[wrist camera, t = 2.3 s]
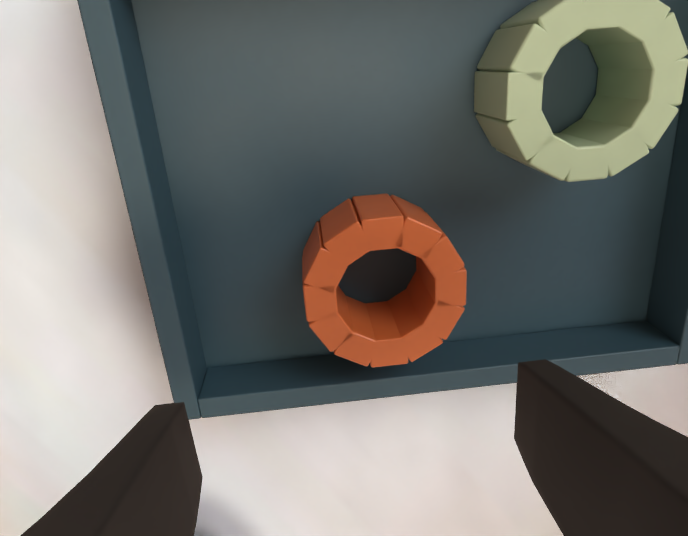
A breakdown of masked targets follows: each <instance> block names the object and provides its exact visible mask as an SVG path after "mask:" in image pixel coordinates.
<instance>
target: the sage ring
mask: <svg viewBox="0 0 688 536" xmlns="http://www.w3.org/2000/svg"><path fill="white" fill-rule="evenodd" d="M669 11H670V7H668V6H667V5H665V4H664V3H662V2H661V1H659V0H538V1H536V2H532V3H531V4H529V5H528V6H526V7H525V8H524V9H522V10H521V11H519V12H518V13H517V14H515V15H514V16H512V17H511V18H510V19H508V20H507V21H505V22H504V23H503V24H501V26H500V29H499V30H496V31H495V33H494V35H493V37H492V39H491V40H490V42H489V44H488V46H487V48H486V50H485V52H484V54H483V56H482V58H481V59H480V61H479V63H478V65H477V68H478V69H479V70H480V71H476V72H475V86H474V112H476V113H478V114H476V118H477V120H478V122H479V124H480V126H481V127H482V129H483V131H484V133H485V135H486V137H487V138H488V140H489V142H490V144H491V146H493V147H495V148H496V150H497V151H499V152H501V153H503V154H505V155H506V156H508V157H510V158H512V159H514V160H516V161H518V162H520V163H522V164H524V165H526V166H529V167H531V168H533V169H535V170H537V171H540V172H542V173H544V174H546V175H549V176H551V177H553V178H555V179H558V180H560V181H563V180H565V181H567V182H574V181H585V180H596V179H605V178H607V176H608V175H609V176H614V175H616V174H617V173H619V172H620V171H622V170H623V169H625V168H627V167H628V166H630V165H631V164H633V163H634V162H636V161H637V160H639V159H641V158H642V157H644V156H645V155H647V154H648V153H649V150H648V148H649V149H653V148H654V147H655V146H656V144H657V143H658V141H659V140H660V138H661V137H662V135H663V134H664V132H665V131H666V129H667V128H668V126H669V125H670V123H671V122H672V120H673V119H674V117H675V116H676V114H677V113H678V108H677V107H675V106H678V105H680V104H681V103H682V97H683V91H684V85H685V79H686V73H687V66H688V59H687V58H683V57H684V56H686V55H687V54H688V50H687V47H686V44H685V41H684V39H683V36H682V33H681V31H680V28H679V25H678V22H677V20H676V17H675V14H674V13H673V12H670V13H669ZM575 38H576V39H578V40H580V41H581V42H583V43H585V44H586V45H588V46H589V48H590V51H591V53H592V55H593V58H594V60H595V62H596V64H597V67H598V78H597V88H596V95H595V97H594V98H593V100H592V102H591V103H590V105H589V107H588V108H587V110H586V112H585V113H584V115H583V117H582V118H581V119H580V120H578V121H577V122H575V123H574V124H572V125H571V126H569V127H568V128H566V129H565V130H563V131H562V132H560V133H553V132H552V130H551V128H550V126H549V124H548V122H547V120H546V118H545V116H544V114H543V112H542V110H541V109H542V94H543V79H544V76H545V74H546V72H547V70H548V69H549V67H550V65H551V63H552V62H553V60H554V58H555V56H556V55H557V53H558V51H559V49H560V48H562V47H563V46H564V45H566V44H567V43H569V42H570V41H572V40H573V39H575Z"/></svg>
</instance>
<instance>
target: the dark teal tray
mask: <svg viewBox="0 0 688 536" xmlns="http://www.w3.org/2000/svg"><path fill="white" fill-rule="evenodd" d="M77 1H78V5H79V9H80V13H81V18H82V22H83V26H84V30H85V34H86V38H87V43H88V47H89V51H90V55H91V59H92V63H93V68H94V72H95V76H96V80H97V84H98V88H99V93H100V97H101V101H102V105H103V109H104V113H105V117H106V122H107V126H108V130H109V134H110V138H111V142H112V147H113V151H114V155H115V159H116V163H117V167H118V172H119V176H120V180H121V184H122V188H123V192H124V197H125V201H126V205H127V209H128V213H129V217H130V222H131V226H132V230H133V234H134V238H135V242H136V246H137V251H138V255H139V259H140V263H141V267H142V271H143V276H144V280H145V284H146V288H147V292H148V296H149V301H150V305H151V309H152V313H153V317H154V321H155V326H156V330H157V334H158V338H159V342H160V346H161V351H162V355H163V359H164V363H165V367H166V371H167V375H168V380H169V384H170V388H171V392H172V396H173V400H174V403H179V402H184V404H185V408H186V412H187V416H188V420H189V419H198V418H201V417H202V418H207V417H216V416H225V415H234V414H243V413H252V412H261V411H269V410H278V409H287V408H296V407H305V406H314V405H323V404H331V403H340V402H349V401H358V400H367V399H376V398H385V397H393V396H402V395H411V394H420V393H429V392H438V391H447V390H455V389H464V388H473V387H482V386H491V385H500V384H509V383H517V374H518V362H526V361H535V360H543V359H546V360H548V361H550V362H552V363H554V364H556V365H558V366H560V367H561V368H563V369H565V370H567V371H568V372H570V373H572V374H574V375H575V376H579V375H588V374H597V373H606V372H615V371H624V370H633V369H641V368H650V367H659V366H668V365H675V364H686V363H688V66H687V73H686V79H685V85H684V91H683V97H682V103H681V104H680V105H678V106H675V107H677V108H678V113H677V114H676V116H675V117H674V119H673V120H672V122H671V123H670V125H669V126H668V128H667V129H666V131H665V132H664V134H663V135H662V137H661V138H660V140H659V141H658V143H657V144H656V146H655V147H654V148H653V149H649V148H648V150H649V153H648V154H647V155H645V156H644V157H642V158H641V159H639V160H637V161H636V162H634V163H633V164H631V165H630V166H628V167H627V168H625V169H623V170H622V171H620V172H619V173H617V174H616V175H614V176H609V175H608V176H607V178H605V179H596V180H585V181H574V182H567V181H565V180H563V181H560V180H558V179H555V178H553V177H551V176H549V175H546V174H544V173H542V172H540V171H537V170H535V169H533V168H531V167H529V166H526V165H524V164H522V163H520V162H518V161H516V160H514V159H512V158H510V157H508V156H506V155H505V154H503V153H501V152H499V151H497V150H496V148H495V147H493V146H491V144H490V142H489V140H488V138H487V137H486V135H485V133H484V131H483V129H482V127H481V126H480V124H479V122H478V120H477V118H476V114H478V113H476V112H474V86H475V72H476V71H480V70H479V69H478V68H477V65H478V63H479V61H480V59H481V58H482V56H483V54H484V52H485V50H486V48H487V46H488V44H489V42H490V40H491V39H492V37H493V35H494V33H495V31H496V30H499V29H500V26H501V24H503V23H504V22H505V21H507V20H508V19H510V18H511V17H512V16H514V15H515V14H517V13H518V12H519V11H521V10H522V9H524V8H525V7H526V6H528V5H529V4H531V3H532V2H536V1H538V0H77ZM659 1H661V2H662V3H664V4H665V5H667V6H668V7H670V11H669V13H670V12H673V13H674V14H675V17H676V20H677V22H678V25H679V28H680V31H681V33H682V36H683V39H684V41H685V44H686V47H687V50H688V0H659ZM683 58H687V59H688V54H687V55H686V56H684V57H683ZM597 78H598V67H597V64H596V62H595V60H594V58H593V55H592V53H591V51H590V48H589V46H588V45H586V44H585V43H583V42H581V41H580V40H578V39H576V38H575V39H573V40H572V41H570V42H569V43H567V44H566V45H564V46H563V47H562V48H560V49H559V51H558V53H557V55H556V56H555V58H554V60H553V62H552V63H551V65H550V67H549V69H548V70H547V72H546V74H545V76H544V79H543V94H542V109H541V110H542V112H543V114H544V116H545V118H546V120H547V122H548V124H549V126H550V128H551V130H552V132H553V133H560V132H562V131H563V130H565V129H566V128H568V127H569V126H571V125H572V124H574V123H575V122H577V121H578V120H580V119H581V118H582V117H583V115H584V113H585V112H586V110H587V108H588V107H589V105H590V103H591V102H592V100H593V98H594V97H595V95H596V88H597ZM386 193H387V194H389V196H391V195H395V196H397V197H399V198H401V199H404V200H406V201H408V202H410V203H412V204H414V205H416V206H419V207H421V208H422V209H423V210H424V212H426V213H427V214H428V215H429V216H430V217H431V218H432V219H433V221H434V222H435V223H436V224H437V225H438V226H439V228H440V229H441V230H442V231H443V232H444V233H445V235H446V236H447V237H448V239H449V240H450V242H451V243H452V245H453V246H454V248H455V250H456V251H457V253H458V254H459V256H460V257H461V259H462V261H463V262H464V268H465V269H466V271H467V279H466V305H464V306H463V307H464V308H465V310H464V312H463V313H462V315H461V317H460V318H459V320H458V321H457V323H456V325H455V326H454V328H453V330H452V331H451V333H450V335H449V336H448V338H447V339H446V340H444V339H442V340H443V343H442V344H441V345H439V346H437V347H436V348H434V349H433V350H431V351H429V352H428V353H426V354H424V355H423V356H421V357H420V358H418V359H416V360H415V361H413V362H411V361H410V360H409V359H408V363H407V364H400V365H391V366H382V367H371V366H370V363H369V365H368V366H363V365H361V364H358V363H355V362H353V361H350V360H347V359H345V358H342V357H339V356H337V355H335V354H334V351H332V352H330V351H329V350H328V349H327V347H326V346H325V345H324V344H323V343H322V341H321V340H320V339H319V338H318V337H317V335H316V334H315V333H314V332H313V330H312V329H311V328H310V327H309V322H308V321H307V320H306V312H305V304H304V295H303V279H302V256H303V249H304V247H305V245H306V243H307V241H308V239H309V237H310V235H311V233H312V230H313V228H314V226H315V224H316V222H317V221H319V222H320V218H321V217H322V216H324V215H325V214H326V213H328V212H329V211H331V210H332V209H334V208H335V207H337V206H338V205H339V204H341V203H342V202H344V201H345V200H347V199H350V200H351V201H352V197H354V196H365V195H375V194H386ZM415 272H416V256H414V255H412V254H410V253H407V252H405V251H403V250H401V249H398V248H395V249H385V250H375V251H369V252H368V253H366V254H365V255H363V256H362V257H360V258H359V259H357V260H356V261H354V262H353V263H351V264H350V265H348V267H347V269H346V271H345V273H344V275H343V277H342V279H341V281H340V282H339V284H338V286H339V287H340V289H341V290H342V291H343V293H344V294H345V295H346V296H348V297H351V298H353V299H355V300H358V301H360V302H363V303H374V302H383V301H388V300H390V299H391V298H393V297H394V296H396V295H397V294H399V293H401V292H402V291H404V290H405V289H406V288H407V286H408V284H409V283H410V281H411V279H412V277H413V275H414V274H415Z"/></svg>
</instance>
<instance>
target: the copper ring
mask: <svg viewBox="0 0 688 536" xmlns="http://www.w3.org/2000/svg"><path fill="white" fill-rule="evenodd" d="M395 248H398V249H401V250H403V251H405V252H407V253H410V254H412V255H414V256H416V272H415V274H414V275H413V277H412V279H411V281H410V283H409V284H408V286H407V288H406V289H405V290H404V291H402V292H401V293H399V294H397V295H396V296H394V297H393V298H391V299H390V300H388V301H383V302H374V303H363V302H360V301H358V300H355V299H353V298H351V297H348V296H346V295H345V294H344V293H343V291H342V290H341V289H340V287H339V286H338V284H339V282H340V281H341V279H342V277H343V275H344V273H345V271H346V269H347V267H348V265H350V264H351V263H353V262H354V261H356V260H357V259H359V258H360V257H362V256H363V255H365V254H366V253H368V252H369V251H375V250H385V249H395ZM302 279H303V295H304V304H305V312H306V320H307V321H308V322H309V327H310V328H311V329H312V330H313V332H314V333H315V334H316V335H317V337H318V338H319V339H320V340H321V341H322V343H323V344H324V345H325V346H326V347H327V349H328V350H329V351H330V352H332V351H334V354H335V355H337V356H339V357H342V358H345V359H347V360H350V361H353V362H355V363H358V364H361V365H363V366H368V365H369V363H370V366H371V367H382V366H391V365H400V364H407V363H408V359H409V360H410V361H411V362H413V361H415V360H416V359H418V358H420V357H421V356H423V355H424V354H426V353H428V352H429V351H431V350H433V349H434V348H436V347H437V346H439V345H441V344H442V343H443V340H442V339H444V340H446V339H447V338H448V336H449V335H450V333H451V331H452V330H453V328H454V326H455V325H456V323H457V321H458V320H459V318H460V317H461V315H462V313H463V312H464V310H465V308H464V307H463V306H464V305H466V279H467V271H466V269H465V268H464V262H463V261H462V259H461V257H460V256H459V254H458V253H457V251H456V250H455V248H454V246H453V245H452V243H451V242H450V240H449V239H448V237H447V236H446V235H445V233H444V232H443V231H442V230H441V229H440V228H439V226H438V225H437V224H436V223H435V222H434V221H433V219H432V218H431V217H430V216H429V215H428V214H427V213H426V212H424V210H423V209H422V208H421V207H419V206H416V205H414V204H412V203H410V202H408V201H406V200H404V199H401V198H399V197H397V196H395V195H391V196H389V194H387V193H386V194H375V195H365V196H354V197H352V201H351V200H350V199H347V200H345V201H344V202H342V203H341V204H339V205H338V206H337V207H335V208H334V209H332V210H331V211H329V212H328V213H326V214H325V215H324V216H322V217H321V218H320V222H319V221H317V222H316V224H315V226H314V228H313V230H312V233H311V235H310V237H309V239H308V241H307V243H306V245H305V247H304V249H303V256H302Z"/></svg>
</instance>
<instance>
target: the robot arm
mask: <svg viewBox="0 0 688 536" xmlns="http://www.w3.org/2000/svg"><path fill="white" fill-rule="evenodd" d="M514 439H515V441H516V444H517V446H518V449H519V451H520V454H521V456H522V458H523V461H524V463H525V466H526V468H527V470H528V472H529V475H530V477H531V479H532V481H533V483H534V485H535V487H536V488H537V490H538V492H539V494H540V496H541V497H542V499H543V501H544V502H545V504H546V506H547V508H548V509H549V511H550V513H551V515H552V516H553V518H554V520H555V521H556V523H557V525H558V527H559V528H560V530H561V532H562V533H563V535H564V536H688V437H686V436H684V435H682V434H680V433H678V432H676V431H674V430H672V429H670V428H668V427H667V426H665V425H663V424H661V423H659V422H657V421H655V420H653V419H651V418H649V417H647V416H645V415H644V414H642V413H640V412H638V411H636V410H634V409H633V408H631V407H629V406H627V405H625V404H624V403H622V402H620V401H618V400H617V399H615V398H613V397H611V396H610V395H608V394H606V393H604V392H603V391H601V390H599V389H597V388H596V387H594V386H592V385H591V384H589V383H587V382H586V381H584V380H582V379H580V378H579V377H577V376H575V375H574V374H572V373H570V372H568V371H567V370H565V369H563V368H561V367H560V366H558V365H556V364H554V363H552V362H550V361H548V360H546V359H543V360H535V361H526V362H518V374H517V394H516V414H515V433H514ZM201 484H202V474H201V470H200V465H199V461H198V457H197V453H196V449H195V445H194V441H193V437H192V432H191V428H190V424H189V420H188V416H187V412H186V408H185V404H184V402H179V403H171V404H162V405H155V406H154V407H153V408H152V409H151V410H150V411H149V412H148V413H147V414H146V415H145V416H144V417H143V418H142V419H141V420H140V421H139V422H138V423H137V424H136V425H135V426H134V427H133V428H132V429H131V430H130V431H129V433H128V434H127V435H126V436H125V437H124V438H123V439H122V440H121V441H120V442H119V443H118V444H117V445H116V446H115V447H114V448H113V449H112V450H111V451H110V452H109V453H108V454H107V455H106V456H105V457H104V458H103V459H102V460H101V461H100V462H99V463H98V464H97V465H96V467H95V468H94V469H93V470H92V471H91V472H90V473H89V474H88V475H87V476H85V477H84V478H83V479H82V480H81V481H80V482H79V483H78V484H77V485H76V486H75V487H74V488H73V489H72V490H71V491H70V492H68V493H67V494H66V495H65V496H64V497H63V498H62V499H61V500H60V501H59V502H58V503H57V504H56V505H55V506H54V507H52V508H51V509H50V510H49V511H48V512H47V513H46V514H45V515H44V516H43V517H42V518H40V519H39V520H38V521H37V522H36V523H35V524H34V525H32V526H31V527H30V528H29V529H28V530H27V531H25V532H24V533H23V534H22V535H21V536H193V535H194V531H195V527H196V522H197V515H198V508H199V501H200V492H201Z"/></svg>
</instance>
